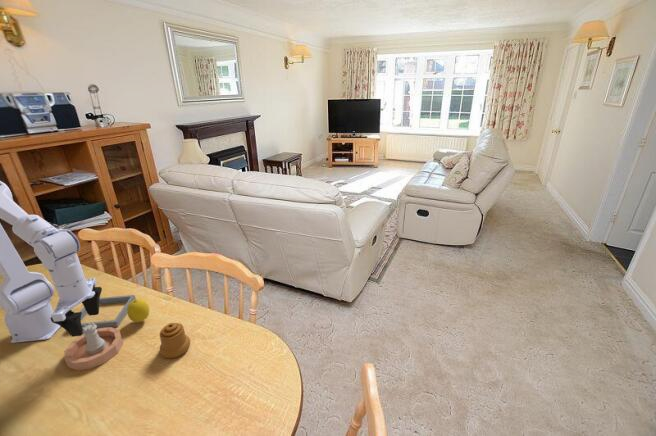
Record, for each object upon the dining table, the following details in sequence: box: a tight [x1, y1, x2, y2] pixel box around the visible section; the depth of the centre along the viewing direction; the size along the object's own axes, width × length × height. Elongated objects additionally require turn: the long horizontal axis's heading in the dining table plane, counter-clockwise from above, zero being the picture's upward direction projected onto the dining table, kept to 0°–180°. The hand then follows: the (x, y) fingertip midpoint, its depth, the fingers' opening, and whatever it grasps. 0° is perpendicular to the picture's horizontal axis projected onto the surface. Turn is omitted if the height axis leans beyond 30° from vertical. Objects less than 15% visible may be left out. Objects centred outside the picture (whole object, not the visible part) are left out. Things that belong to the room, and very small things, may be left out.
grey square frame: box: [79, 294, 137, 329], centre depth 94 cm, size 13×13×2 cm
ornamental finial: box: [159, 322, 191, 359], centre depth 81 cm, size 8×8×8 cm
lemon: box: [126, 298, 150, 323], centre depth 90 cm, size 6×6×8 cm
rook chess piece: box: [82, 322, 106, 355], centre depth 79 cm, size 4×4×8 cm
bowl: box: [63, 327, 124, 371], centre depth 81 cm, size 12×12×3 cm
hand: (86, 324), depth 78 cm, fingers open, 7 cm apart
